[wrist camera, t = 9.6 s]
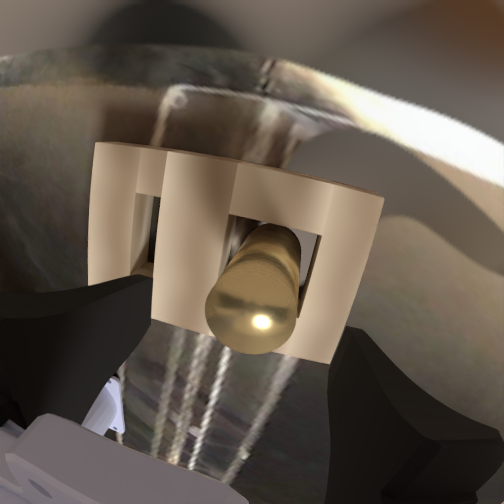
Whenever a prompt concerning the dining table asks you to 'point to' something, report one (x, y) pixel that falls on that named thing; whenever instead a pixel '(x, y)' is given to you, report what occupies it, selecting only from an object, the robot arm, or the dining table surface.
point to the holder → (225, 233)
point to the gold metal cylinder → (257, 292)
